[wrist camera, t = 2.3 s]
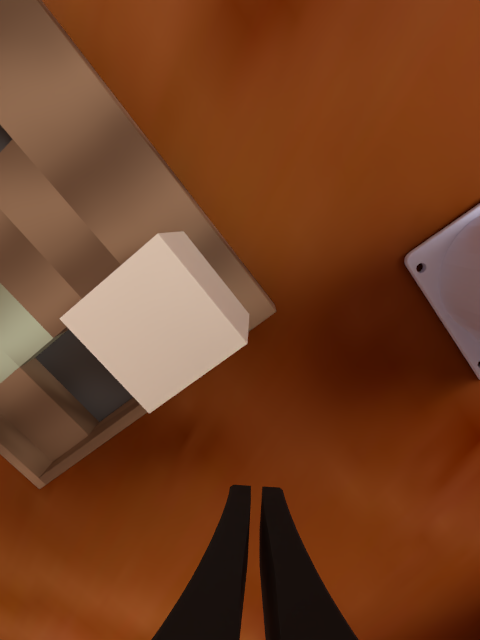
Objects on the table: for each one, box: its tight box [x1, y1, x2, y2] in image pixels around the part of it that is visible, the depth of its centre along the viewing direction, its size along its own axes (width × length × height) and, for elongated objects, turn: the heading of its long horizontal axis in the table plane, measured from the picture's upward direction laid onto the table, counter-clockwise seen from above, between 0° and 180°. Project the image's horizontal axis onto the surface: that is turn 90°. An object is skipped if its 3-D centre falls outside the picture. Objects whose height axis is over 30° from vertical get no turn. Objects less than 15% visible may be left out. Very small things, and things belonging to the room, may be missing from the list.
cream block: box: [60, 231, 249, 413], centre depth 15 cm, size 6×6×4 cm
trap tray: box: [0, 0, 276, 489], centre depth 17 cm, size 21×18×3 cm
